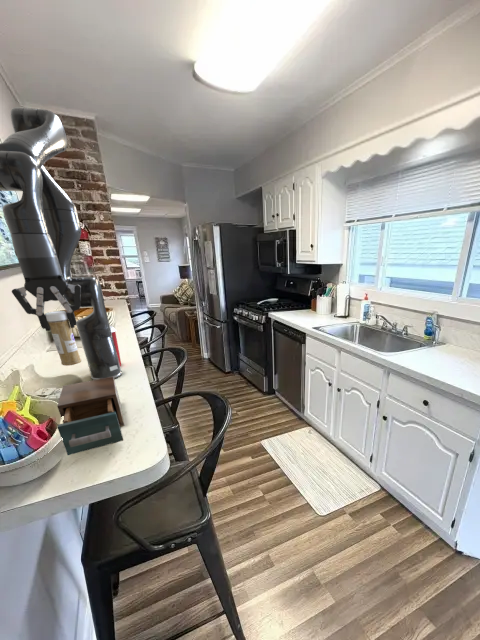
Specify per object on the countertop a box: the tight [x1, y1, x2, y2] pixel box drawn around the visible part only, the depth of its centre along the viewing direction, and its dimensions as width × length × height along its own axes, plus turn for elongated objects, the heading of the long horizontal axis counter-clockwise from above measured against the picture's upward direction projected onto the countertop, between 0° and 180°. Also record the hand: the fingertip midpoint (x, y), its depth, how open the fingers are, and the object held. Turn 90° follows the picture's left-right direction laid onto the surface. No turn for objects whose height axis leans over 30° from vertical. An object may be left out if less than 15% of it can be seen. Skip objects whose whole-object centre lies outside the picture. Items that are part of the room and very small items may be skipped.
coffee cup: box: [110, 325, 122, 367], centre depth 116 cm, size 8×8×15 cm
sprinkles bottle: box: [44, 310, 82, 367], centre depth 79 cm, size 5×5×14 cm
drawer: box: [57, 398, 124, 456], centre depth 68 cm, size 17×10×7 cm, turn 30°
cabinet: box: [56, 377, 125, 427], centre depth 78 cm, size 14×12×9 cm
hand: (60, 328), depth 78 cm, fingers closed on sprinkles bottle, 4 cm apart
